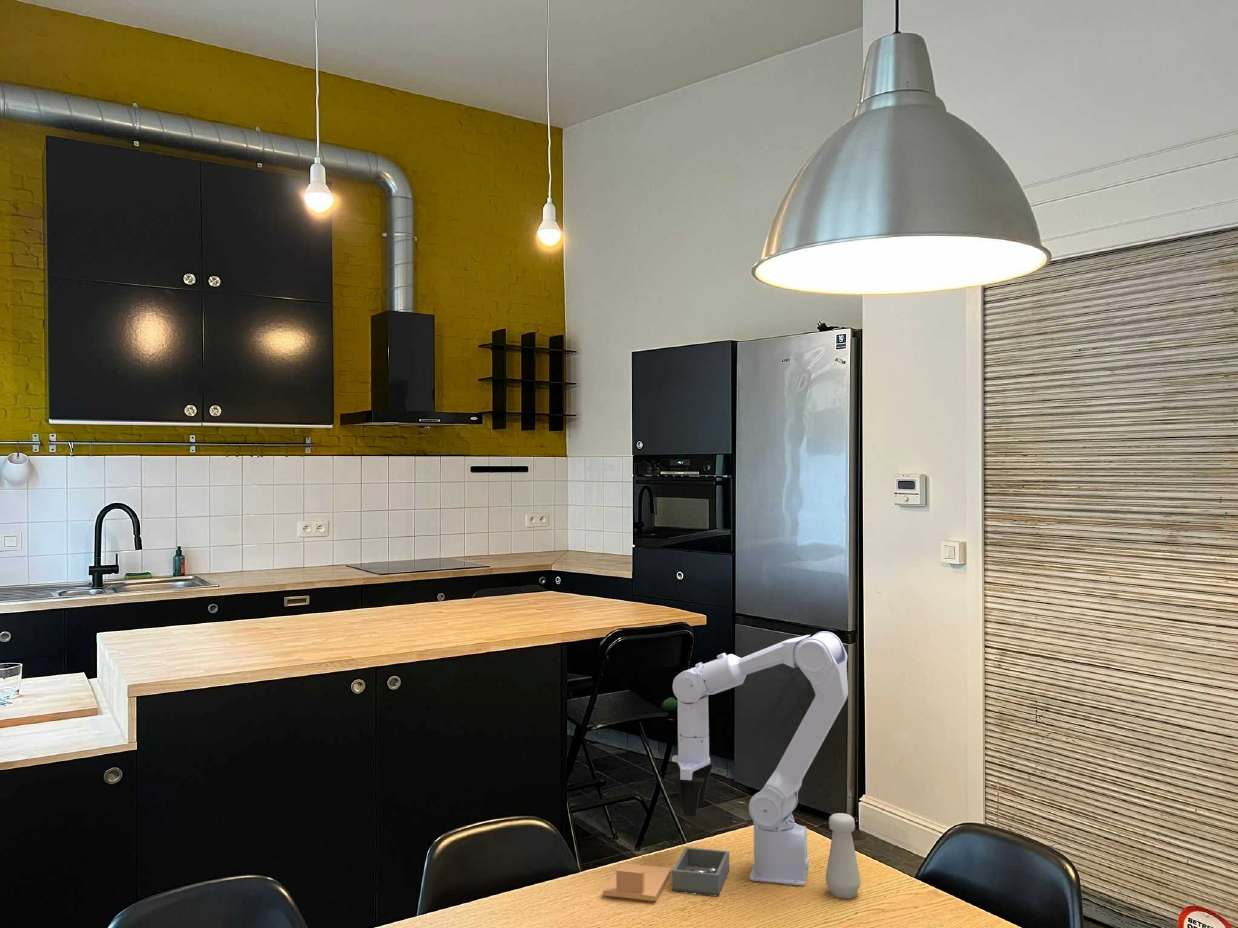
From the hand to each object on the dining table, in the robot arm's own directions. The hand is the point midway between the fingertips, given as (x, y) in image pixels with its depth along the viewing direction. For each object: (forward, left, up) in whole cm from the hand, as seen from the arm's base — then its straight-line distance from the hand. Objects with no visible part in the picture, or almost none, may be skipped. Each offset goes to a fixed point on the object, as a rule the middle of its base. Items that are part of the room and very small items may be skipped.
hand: (694, 808), depth 171 cm
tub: (-3, +9, -9) cm, 13 cm away
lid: (+7, +14, -9) cm, 18 cm away
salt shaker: (-27, +8, -10) cm, 30 cm away
